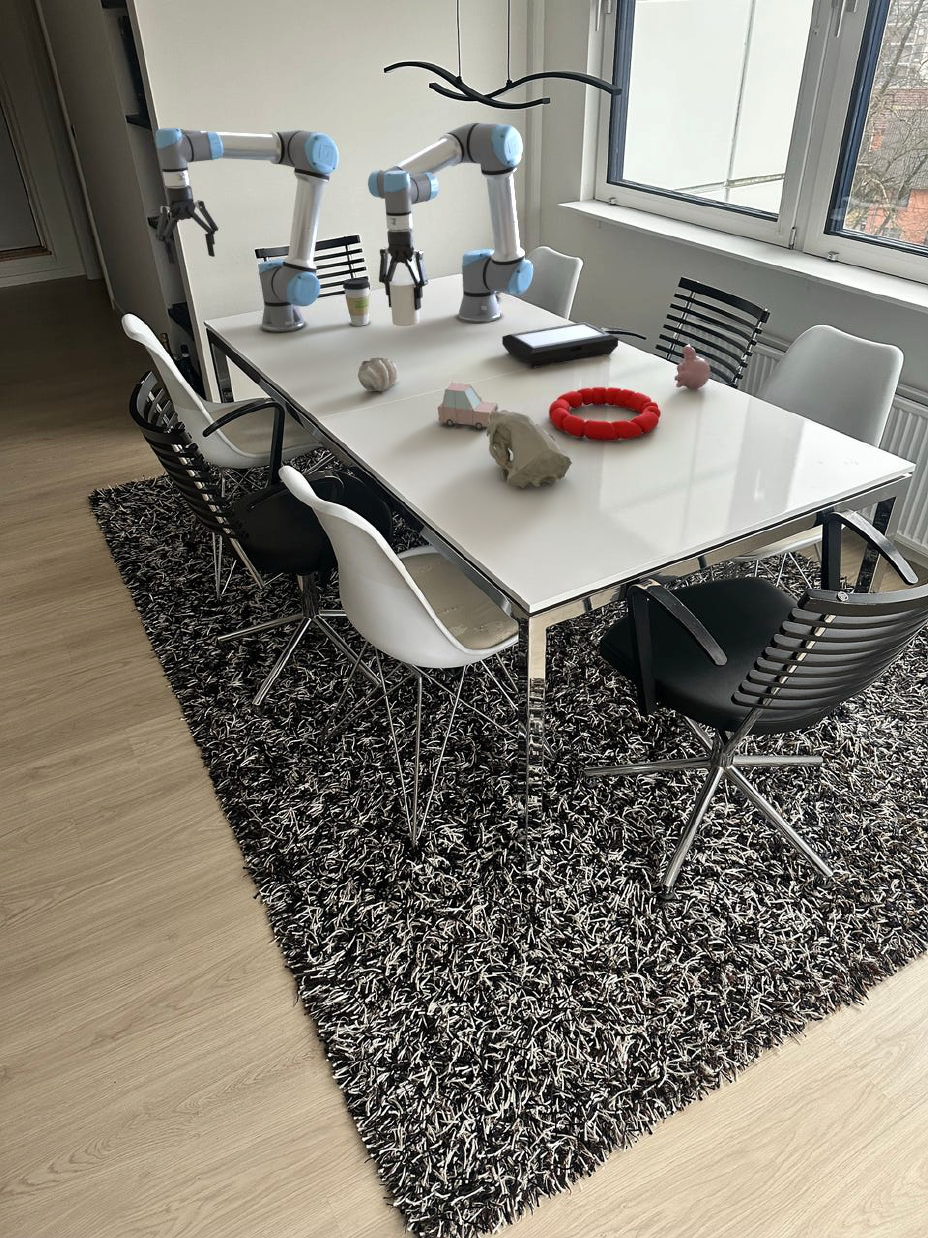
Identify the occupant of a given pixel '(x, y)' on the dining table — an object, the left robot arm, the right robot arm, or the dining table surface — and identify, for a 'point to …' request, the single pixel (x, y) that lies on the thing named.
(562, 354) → the electronic device
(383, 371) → the seashell
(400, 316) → the canister
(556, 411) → the decorative ring
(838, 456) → the dining table surface
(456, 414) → the toy car
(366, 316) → the coffee cup
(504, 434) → the animal skull
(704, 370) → the figurine
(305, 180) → the left robot arm
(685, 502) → the dining table surface
